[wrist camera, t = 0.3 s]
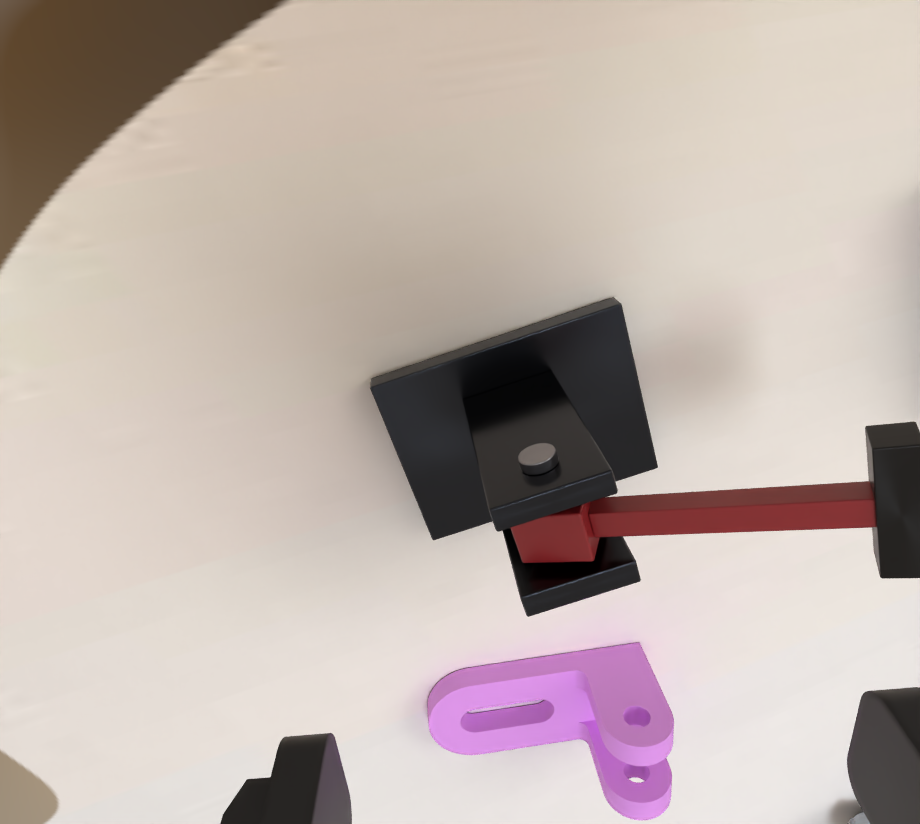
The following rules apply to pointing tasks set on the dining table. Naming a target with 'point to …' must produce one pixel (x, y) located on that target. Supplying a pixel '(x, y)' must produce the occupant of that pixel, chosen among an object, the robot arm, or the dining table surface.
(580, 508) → the lever handle
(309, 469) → the dining table surface
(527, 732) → the bracket
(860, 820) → the handheld gaming console
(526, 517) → the pivot stand
